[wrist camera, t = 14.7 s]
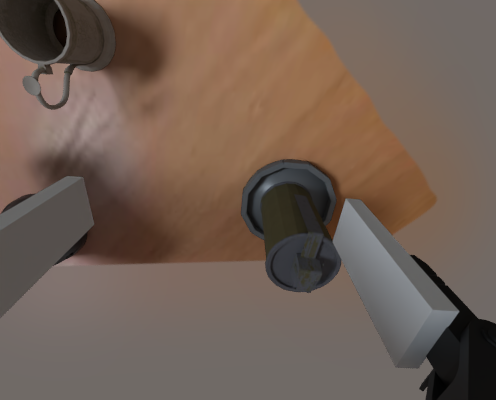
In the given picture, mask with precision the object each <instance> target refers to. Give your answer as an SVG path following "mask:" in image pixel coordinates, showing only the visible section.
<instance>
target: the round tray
mask: <svg viewBox="0 0 496 400" xmlns="http://www.w3.org/2000/svg"><path fill="white" fill-rule="evenodd" d="M287 181H289V182H296V183H299V184H301V185H303V186H304V187H305V188H306V189H307V190H308V191H309V192H310V194H311V196H312V201H313V203H314V205H315V207H316V209H317V211H318V213H319V215H320V217H321V219H322V221H323V223H324V225H325V226H326V225H327V224H328V223H329V222H330V221H331V218H332V214H333V211H334V208H335V204H336V201H337V199H336V196H335V193H334V190H333V187H332V184H331V181H330V179H329V178H328V176H327V175H326V174H324V173H323V172H321V171H320V170H319V169H318V168H317V167H315V166H313V165H312V164H311V163H309V162H306V161H301V160H294V159H287V160H280V161H275V162H273V163H270V164H268V165H266V166H264V167H262V168H261V169H259V170H257V172H256V173H255V174H254V175H253V176H252V177H251V178H250V180H249V181H248V183H247V185H246V186H245V187H244V189H243V196H242V207H241V215H242V217H243V219H244V221H245V222H246V224H247V226H248V228H249V230H250V232H252V233H253V234H254V235H256V236H258V237H259V238H261V239H263V240H264V231H263V221H262V214H261V210H260V203H261V198H262V196H263V195H264V193H265V192H266V191H267V190H268V189H269V188H270V187H271V186H273V185H275V184H278V183H281V182H287Z"/></svg>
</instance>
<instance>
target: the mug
mask: <svg viewBox="0 0 496 400" xmlns="http://www.w3.org/2000/svg"><path fill="white" fill-rule="evenodd" d="M59 9H60V10H61V13H62V15H63V17H64V19H65V24H66V29H67V40H66V46H65V48H64V47H63V46H62V45H61V44H60V42H59V41H58V40H57V37H56V35H55V33H54V29H53V18H54V15H55V13H56V12H57V11H58V10H59ZM0 36H1V38H2V39H3V40H4V41H5V42H6V44H7V45H8V46H9V47H10V48H11V49H12V50H13V51H14V52H16V53H17V54H18V55H20V56H21V57H22V58H24V59H26V60H29V61H31V62H33V63H37V64H38V69H36V70H35V71H34V72H33V73H32V76H25V77H24V78H23V86H24V88H25V89H26V91H27V92H28V93H30V94H31V95H35V96H36V97H37V99H38V101H39V102H40V103H41V104H42V105H43V106H45V107H46V108H48V109H51V110H52V109H59V108H61V107H62V106H64V105H65V104H66V102H67V100H68V97H69V84H70V75H71V74H72V72H73V70H74V68H75V67H76V68H78V69H80V70H85V71H96V70H100V69H103V68H104V67H105V66H107V65H108V64H109V63H110V61H111V59H112V58H113V56H114V52H115V46H116V41H115V32H114V29H113V27H112V24H111V21H110V19H109V17H108V16H107V14H106V13H105V11H104V10H103V8H102V7H101V6H100V5H99V4H98V3H96V2H95V1H94V0H0ZM54 63H66V64H70V65H69V66H68V67H67V68H66V69H65V71H64V73H65V75H64V90H63V96H62V99H61V101H60V102H59V103H58V104H56V105H49V104H48V103H46V101H45V100H44V98H43V97H42V95H41V87H40V85H39V83H38V77H39V75H40V74H53V72H52V68H51V66H50V64H54Z"/></svg>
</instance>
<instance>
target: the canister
mask: <svg viewBox="0 0 496 400" xmlns="http://www.w3.org/2000/svg"><path fill="white" fill-rule="evenodd" d="M260 210H261V214H262V221H263V231H264V241H265V250H266V262H265V265H266V272H267V275H268V277H269V278H270V279H271V281H272V282H273V283H275V284H276V285H277V286H279V287H281V288H282V289H285V290H288V291H294V292H307V293H309V292H311V291H312V290H315V289H317V288H320V287H322V286H324V285H326V284H327V283H329V282H330V281H331V280H332V279H333V278H334V277H335V276H336V275H337V273H338V271H339V269H340V266H341V258H340V256H339V254H338V252H337V250H336V248H335V246H334V244H333V241H332V239H331V237H330V235H329V233H328V231H327V229H326V227H325V225H324V223H323V221H322V219H321V217H320V215H319V213H318V211H317V209H316V207H315V205H314V203H313V201H312V196H311V194H310V192H309V191H308V190H307V189H306V188H305V187H304V186H303V185H301V184H299V183H296V182H289V181H287V182H281V183H278V184H275V185H273V186H271V187H270V188H269V189H268V190H267V191H266V192H265V193H264V195H263V196H262V198H261V203H260Z"/></svg>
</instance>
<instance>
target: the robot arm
mask: <svg viewBox="0 0 496 400" xmlns="http://www.w3.org/2000/svg"><path fill="white" fill-rule="evenodd" d="M93 225H94V221H93V216H92V212H91V208H90V204H89V199H88V195H87V191H86V187H85V182H84V178H83V177H75V176H66V177H64V178H63V179H61V180H59V181H57V182H56V183H54V184H52V185H50V186H49V187H47V188H45V189H43V190H42V191H40V192H38V193H37V194H28V195H24V196H22V197H20V198H18V199H16V200H14V201H13V202H11V203H9V204H8V205H7V206H6V207H5V208H4V210H3V211H2V213H1V214H0V318H1V317H2V316H3V315H4V314H5V313H6V312H7V311H8V310H9V309H10V308H11V307H12V306H13V305H14V304H15V303H16V302H17V301H18V300H19V299H20V298H21V297H22V296H23V295H24V294H25V293H26V292H27V291H28V290H29V289H30V288H31V287H32V286H33V285H34V284H35V283H36V282H37V281H38V280H39V279H40V278H41V277H42V276H43V275H44V274H45V273H46V272H47V271H48V270H49V269H50V268H51V267H52V266H54V265H56V264H58V263H60V262H62V261H64V260H65V259H68V258H70V257H71V256H73V255H74V254H76V253H77V252H78V251H79V250H80V249H81V247H82V246H83V245H84V244H85V242H86V239H87V231H88V230H89V229H90V228H91V227H92V226H93ZM333 244H334V246H335V248H336V250H337V252H338V254H339V256H340V258H341V260H342V262H343V264H344V266H345V268H346V270H347V272H348V274H349V276H350V278H351V280H352V282H353V284H354V286H355V288H356V290H357V292H358V293H359V296H360V298H361V300H362V301H363V304H364V306H365V307H366V309H367V312H368V313H369V316H370V318H371V320H372V322H373V323H374V326H375V328H376V329H377V331H378V334H379V335H380V337H381V339H382V341H383V343H384V345H385V347H386V349H387V351H388V353H389V355H390V357H391V359H392V361H393V363H394V365H395V367H398V368H399V367H400V368H419V367H420V365H421V364H422V363H423V361H424V360H425V358H426V357H427V359H428V360H429V362H430V363H431V365H432V366H433V368H434V369H433V370H432V371H431V373H430V374H429V375H428V377H427V378H426V379H425V380H424V382H423V383H422V384H421V386H420V390H422V391H424V390H425V388H426V387H428V388H427V395H426V400H496V324H495V323H492V322H490V321H487V320H482V319H478V318H477V317H476V316H475V315H474V314H473V313H472V312H471V311H470V309H469V308H468V307H467V306H466V305H465V304H464V303H463V302H462V301H461V300H460V299H459V298H458V297H457V295H456V294H455V293H454V292H453V291H452V290H451V289H450V288H449V287H448V286H446V285H445V283H444V282H443V281H442V279H441V278H440V277H437V275H436V273H435V272H434V271H433V270H432V269H431V268H430V267H429V266H428V265H427V264H426V263H425V262H423V261H422V260H420V259H419V258H417V257H416V256H415V255H409V254H408V253H407V252H406V251H405V249H404V248H403V247H402V246H401V245H400V244H399V243H398V242H397V240H396V239H395V238H394V237H393V236H392V235H391V234H390V232H389V231H388V230H387V229H386V228H385V227H384V226H383V225H382V223H381V222H380V221H379V220H378V219H377V218H376V217H375V216H374V214H373V213H372V212H371V211H370V210H369V209H368V208H367V207H366V205H365V204H364V203H363V202H362V201H361V200H358V199H346V200H345V203H344V206H343V209H342V213H341V216H340V219H339V222H338V226H337V229H336V232H335V235H334V238H333Z"/></svg>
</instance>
